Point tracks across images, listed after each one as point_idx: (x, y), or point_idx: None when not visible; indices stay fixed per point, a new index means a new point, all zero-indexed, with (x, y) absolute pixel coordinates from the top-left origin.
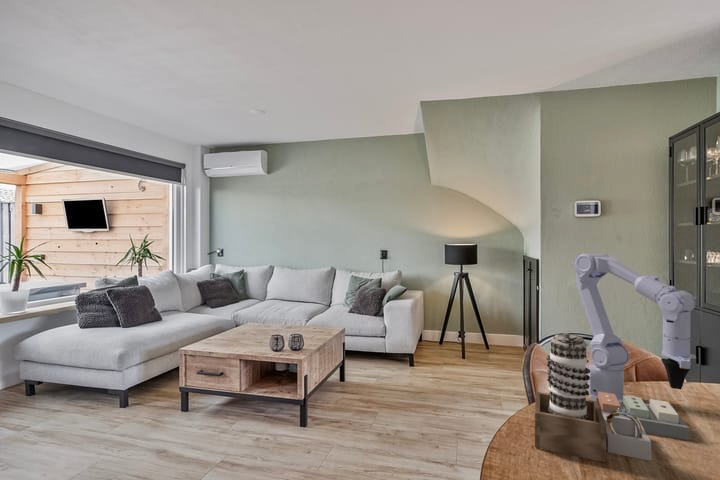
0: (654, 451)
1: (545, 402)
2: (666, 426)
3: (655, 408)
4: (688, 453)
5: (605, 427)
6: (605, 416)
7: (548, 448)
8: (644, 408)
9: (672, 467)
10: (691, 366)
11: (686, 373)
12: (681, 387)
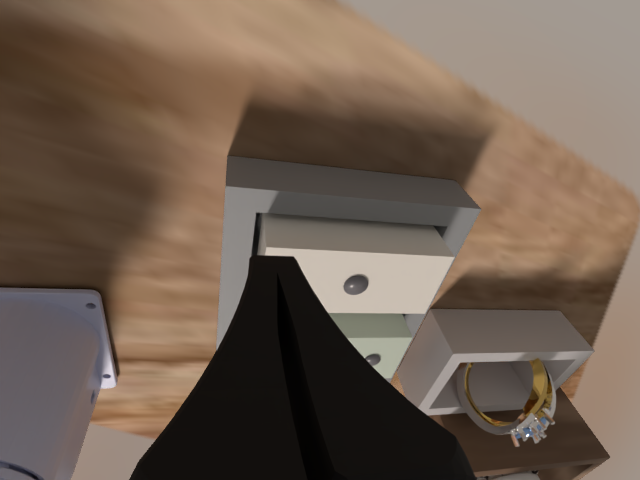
0: (518, 293)
1: None
2: None
3: (373, 310)
4: (540, 219)
5: (604, 451)
6: (434, 409)
7: None
8: (390, 345)
9: (595, 279)
10: (467, 468)
11: (379, 378)
12: (300, 268)
